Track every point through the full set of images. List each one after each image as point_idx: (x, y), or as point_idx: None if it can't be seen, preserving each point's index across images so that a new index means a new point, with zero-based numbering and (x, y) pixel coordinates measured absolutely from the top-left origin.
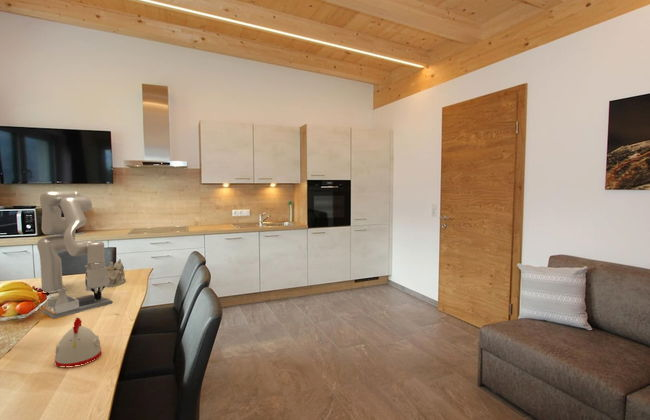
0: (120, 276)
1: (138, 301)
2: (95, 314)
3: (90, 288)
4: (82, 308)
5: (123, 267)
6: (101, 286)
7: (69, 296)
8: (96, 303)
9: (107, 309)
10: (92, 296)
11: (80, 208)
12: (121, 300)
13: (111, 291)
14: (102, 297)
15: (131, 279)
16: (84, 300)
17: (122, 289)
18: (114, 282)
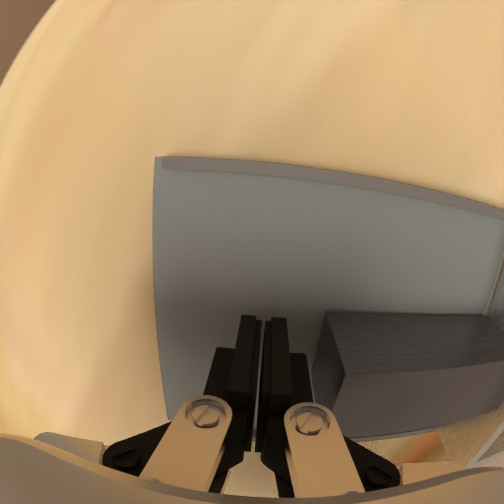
0: None
1: (32, 35)
2: (452, 13)
3: (497, 467)
4: (501, 209)
5: None
6: (193, 494)
7: (483, 451)
8: (328, 264)
9: (325, 8)
10: (372, 367)
11: None
12: (69, 179)
13: (84, 438)
14: (172, 393)
15: None
16: (450, 345)
17: (32, 408)
18: None
